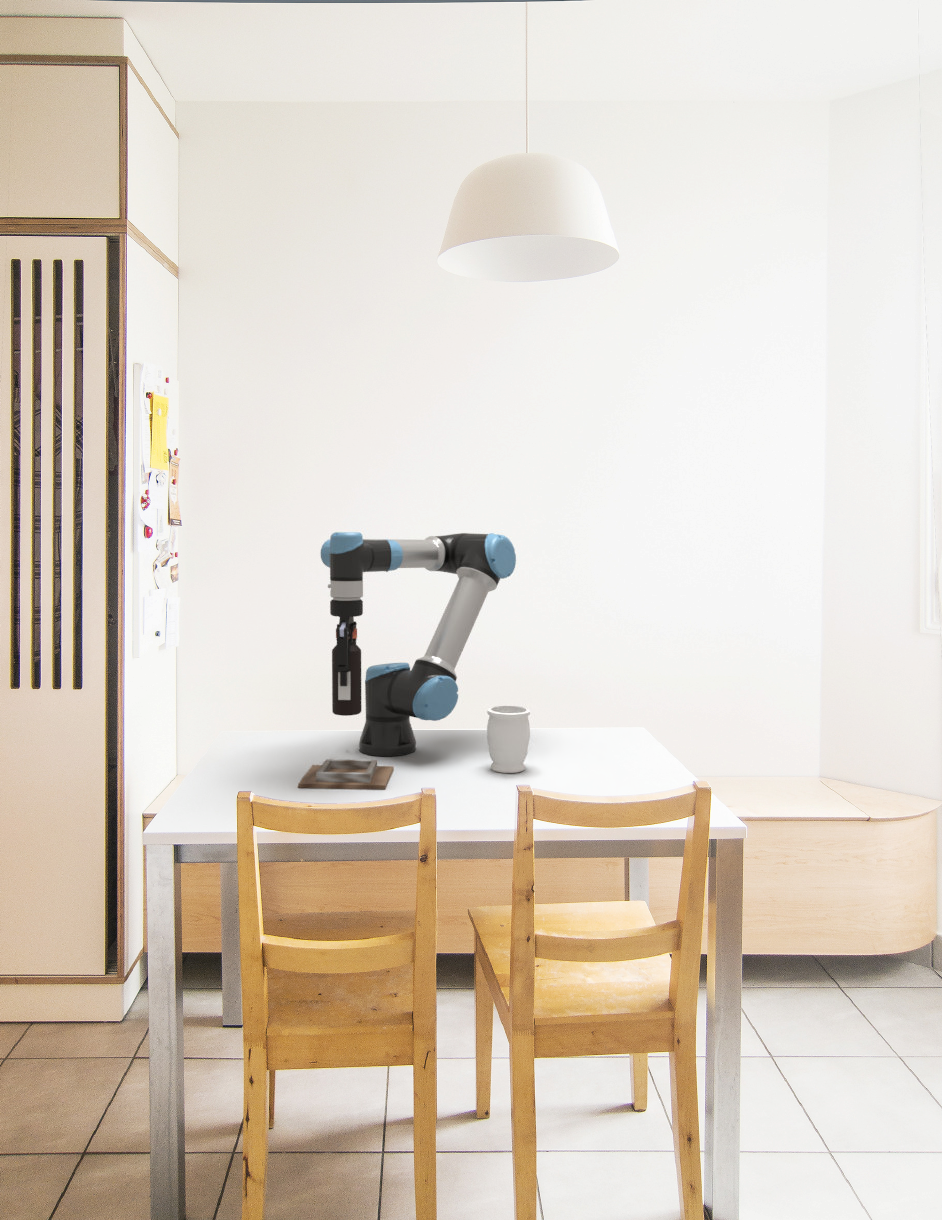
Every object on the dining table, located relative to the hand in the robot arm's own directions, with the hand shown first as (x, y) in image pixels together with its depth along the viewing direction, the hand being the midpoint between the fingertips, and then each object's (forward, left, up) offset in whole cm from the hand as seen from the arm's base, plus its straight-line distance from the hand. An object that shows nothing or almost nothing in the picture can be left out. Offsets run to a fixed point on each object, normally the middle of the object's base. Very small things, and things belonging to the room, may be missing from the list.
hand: (346, 696), depth 217 cm
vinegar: (0, 0, -4) cm, 4 cm away
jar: (-38, -11, -20) cm, 44 cm away
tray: (0, 0, -20) cm, 20 cm away
